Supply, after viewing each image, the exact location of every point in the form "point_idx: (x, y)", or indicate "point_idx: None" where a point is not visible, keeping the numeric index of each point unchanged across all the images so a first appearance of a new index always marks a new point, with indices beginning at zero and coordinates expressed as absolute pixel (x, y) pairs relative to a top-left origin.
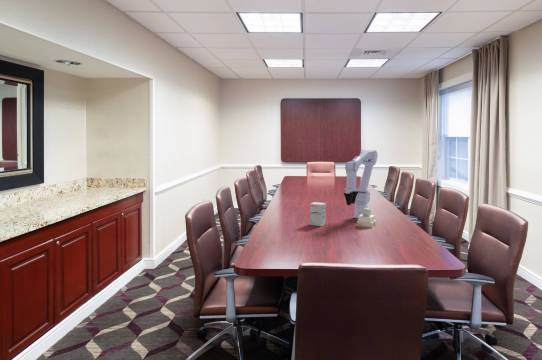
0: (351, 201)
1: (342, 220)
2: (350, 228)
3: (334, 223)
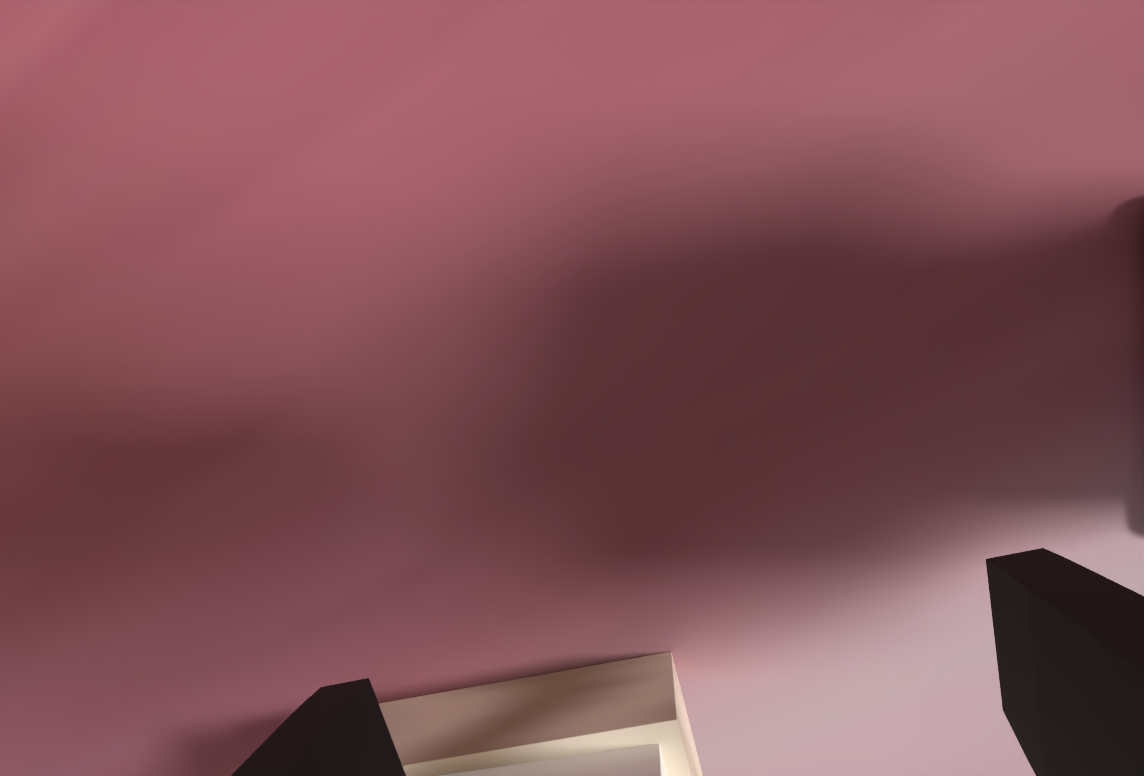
0: (1042, 659)
1: (624, 166)
2: (65, 717)
3: (153, 215)
